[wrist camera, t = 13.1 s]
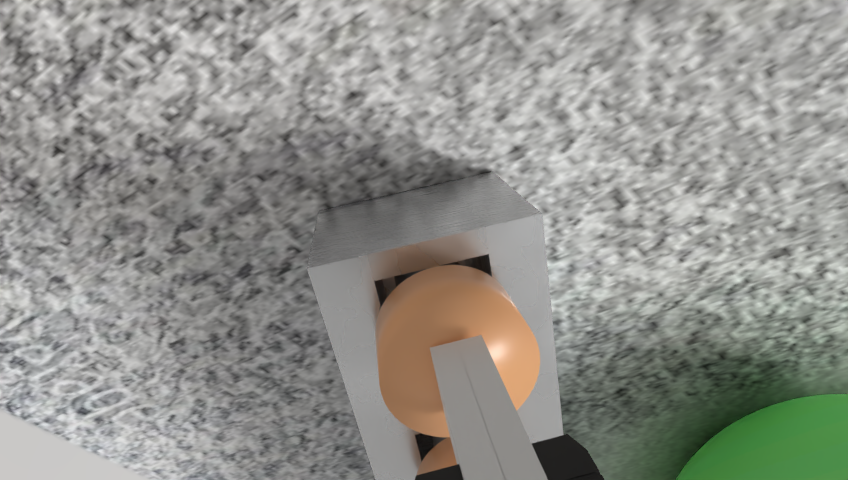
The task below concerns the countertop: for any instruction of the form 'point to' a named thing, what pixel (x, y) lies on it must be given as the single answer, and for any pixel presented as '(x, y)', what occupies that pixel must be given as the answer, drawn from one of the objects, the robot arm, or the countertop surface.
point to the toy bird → (779, 444)
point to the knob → (447, 339)
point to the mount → (416, 250)
